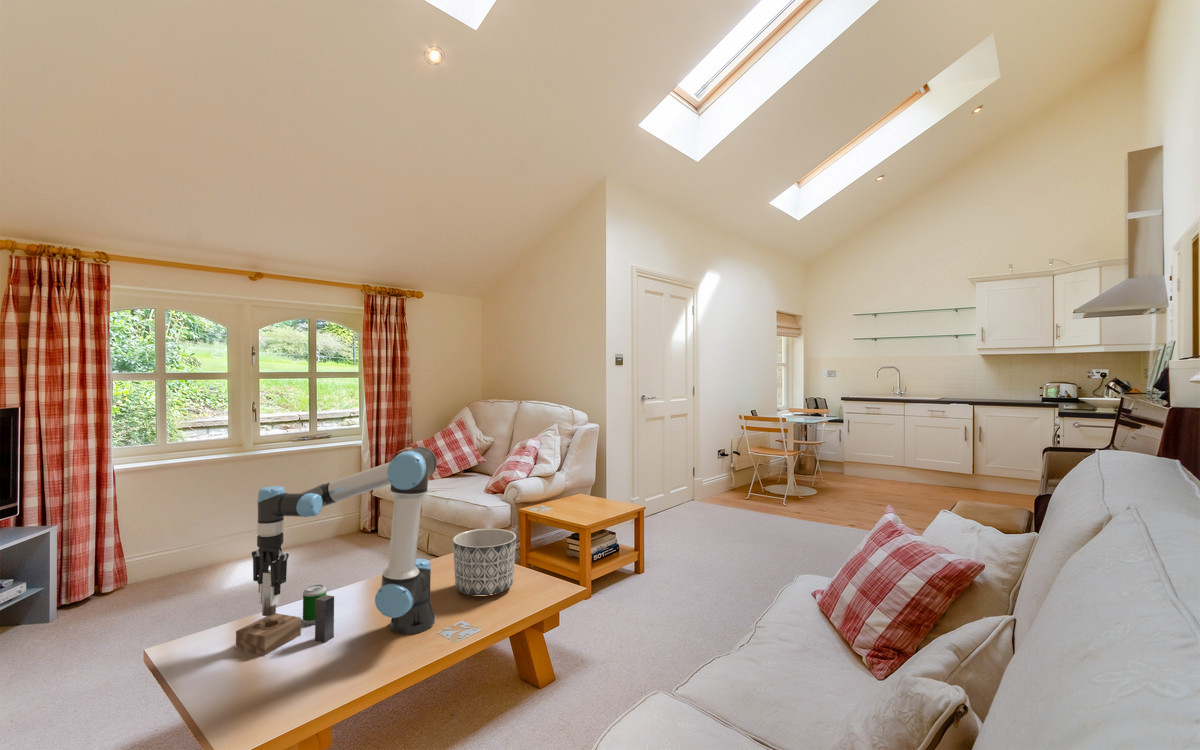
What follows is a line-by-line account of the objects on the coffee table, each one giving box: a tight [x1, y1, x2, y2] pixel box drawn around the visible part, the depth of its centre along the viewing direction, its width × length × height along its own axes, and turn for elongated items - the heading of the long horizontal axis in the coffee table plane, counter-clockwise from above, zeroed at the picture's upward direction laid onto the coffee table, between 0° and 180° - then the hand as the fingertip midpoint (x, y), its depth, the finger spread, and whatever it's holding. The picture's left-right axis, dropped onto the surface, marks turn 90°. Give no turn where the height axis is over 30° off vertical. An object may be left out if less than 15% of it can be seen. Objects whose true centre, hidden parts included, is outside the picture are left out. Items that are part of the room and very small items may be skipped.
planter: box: [452, 528, 517, 596], centre depth 223 cm, size 26×26×22 cm
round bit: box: [261, 569, 277, 617], centre depth 177 cm, size 4×4×14 cm
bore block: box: [235, 612, 302, 656], centre depth 177 cm, size 12×14×6 cm
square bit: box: [314, 594, 335, 644], centre depth 180 cm, size 4×4×14 cm
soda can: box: [302, 584, 327, 625], centre depth 193 cm, size 8×8×12 cm
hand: (269, 603), depth 177 cm, fingers closed on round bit, 4 cm apart
